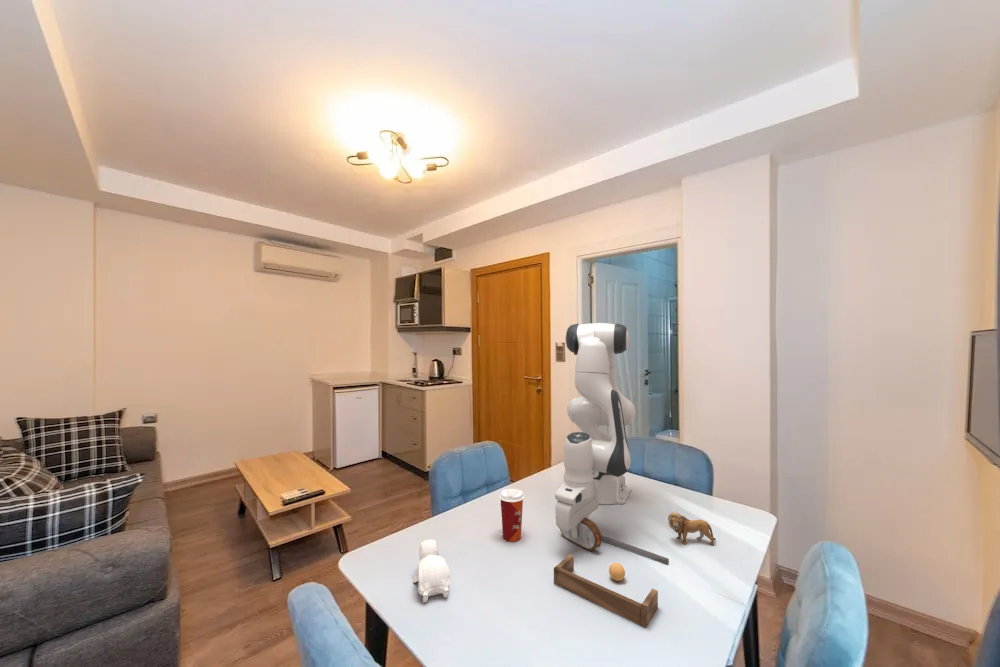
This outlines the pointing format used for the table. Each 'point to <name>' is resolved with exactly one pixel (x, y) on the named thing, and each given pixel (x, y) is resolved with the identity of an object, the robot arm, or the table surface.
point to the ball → (616, 571)
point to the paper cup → (511, 514)
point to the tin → (585, 535)
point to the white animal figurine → (431, 571)
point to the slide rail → (635, 550)
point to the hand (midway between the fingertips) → (578, 533)
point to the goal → (605, 594)
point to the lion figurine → (689, 527)
